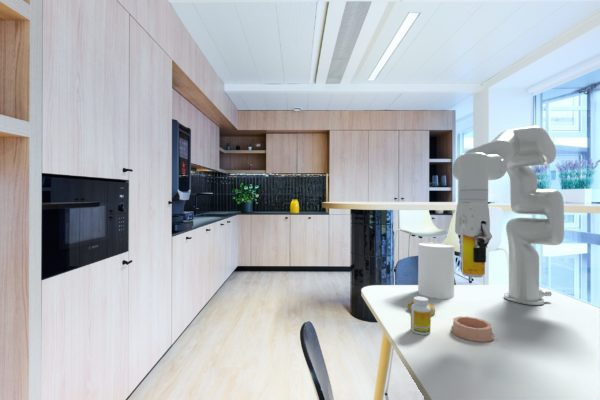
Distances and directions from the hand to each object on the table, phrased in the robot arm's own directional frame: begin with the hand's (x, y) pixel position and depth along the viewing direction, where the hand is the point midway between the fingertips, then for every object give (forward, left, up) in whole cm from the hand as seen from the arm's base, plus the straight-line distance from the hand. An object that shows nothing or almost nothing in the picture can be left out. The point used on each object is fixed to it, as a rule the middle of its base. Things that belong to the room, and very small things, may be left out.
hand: (472, 259), depth 90 cm
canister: (-8, -39, -21) cm, 45 cm away
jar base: (0, 0, -21) cm, 21 cm away
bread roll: (+7, -18, -22) cm, 29 cm away
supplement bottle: (+14, -2, -21) cm, 26 cm away
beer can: (0, 0, -5) cm, 5 cm away
